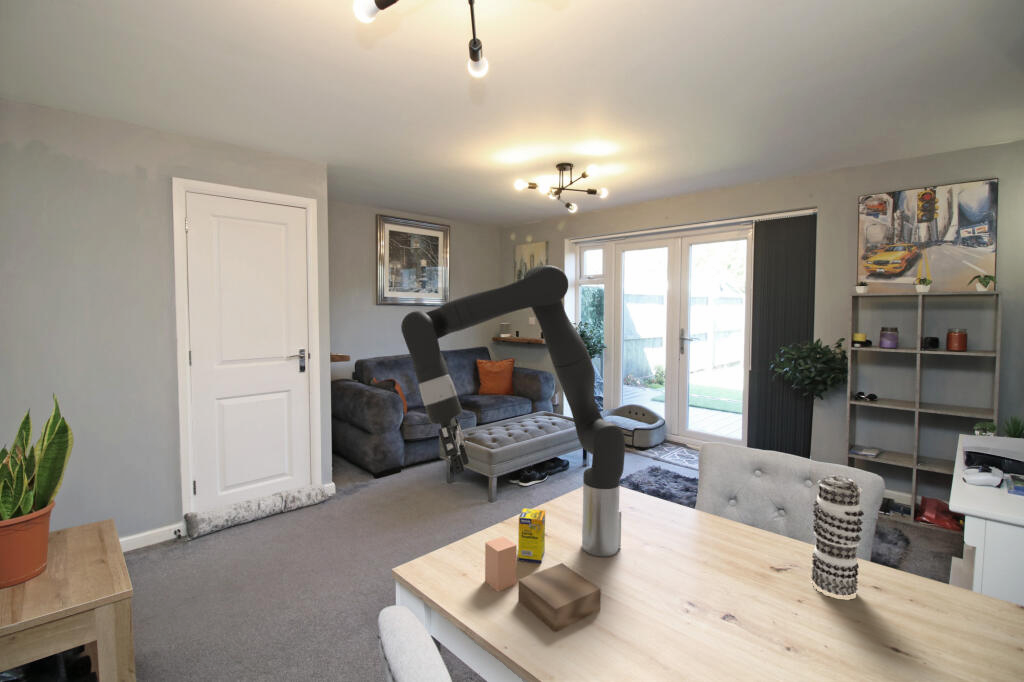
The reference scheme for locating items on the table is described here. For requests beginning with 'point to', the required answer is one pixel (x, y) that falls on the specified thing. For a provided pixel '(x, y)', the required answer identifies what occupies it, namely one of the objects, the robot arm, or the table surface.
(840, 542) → the decorative candle
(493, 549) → the terracotta block
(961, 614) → the table surface
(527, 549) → the supplement box
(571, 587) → the walnut block
